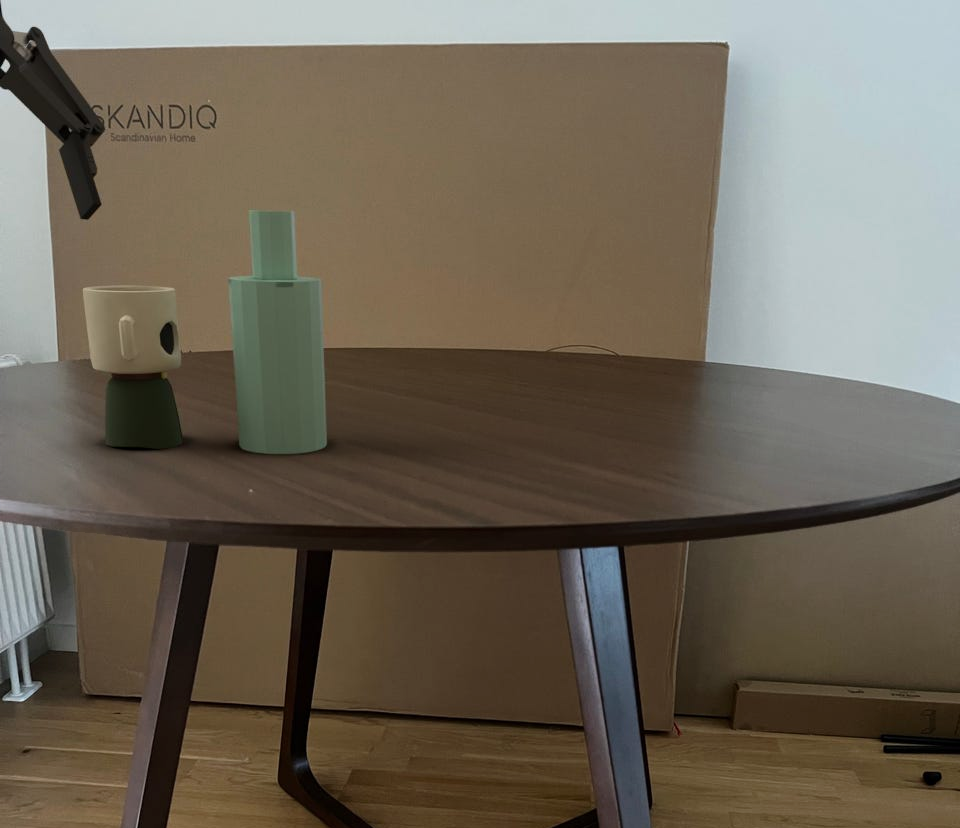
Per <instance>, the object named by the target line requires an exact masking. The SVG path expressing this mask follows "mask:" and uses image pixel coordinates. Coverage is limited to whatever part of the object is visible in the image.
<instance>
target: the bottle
mask: <svg viewBox="0 0 960 828" xmlns="http://www.w3.org/2000/svg"><path fill="white" fill-rule="evenodd" d="M295 217H296V216H295V211H294V210H292V211H291V210H261V209H259V210H258V209H257V210H256V209H255V210H253V209H250V210H248V218H249V219H248V220H249V235H250V236H249V237H250V253H251V268H252V275H237V276H230V277H228V278H227V280H228V294H229V295H228V298H229V310H230V311H229V313H230V326H231V328H230V329H231V340H232V356H233V371H234V386H235V402H236V414H237V415H236V417H237V431H238V443H239V444H238V446H239V447H240V448H241V449H242V450H244V451H247V452H250V453H256V454H261V455H263V454H264V455H298V454H306V453H313V452H317V451H319V450H323V449H325V447H326V446H327V445H328V436H327V434H328V433H327V408H326V407H327V405H326V376H325V349H324V346H325V345H324V344H325V343H324V321H323V317H324V315H323V292H322V291H323V289H322V288H323V287H322V286H323V285H322V279H321V278H318V277H310V276H299V275H298V266H297V242H296V240H297V239H296V238H297V237H296V219H295Z"/></svg>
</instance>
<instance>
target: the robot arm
mask: <svg viewBox="0 0 960 828" xmlns="http://www.w3.org/2000/svg"><path fill="white" fill-rule="evenodd" d="M5 61H7V63H8V64H9V67H8V68H7V70H6V71H5V70H4V69H3V68H2V66H3V65H4V63H5ZM0 88H1V89H3V90H6V91H9V92H10V93H12V94H13V96H14V97H16V98H17V99H18V100H19V101H20V102H21V103H22V105H23V106H24V107H26V108H27V109H28V110H29V111H30V112H31V113H32V114H33V115H34V116H35V118H36V119H38V120H39V121H40V122H41V123H42V124H43V125H44V126H45V128H47V129H48V130H49V131H50V132H51V133H52V134H53V135H54V136H55V137H56V138H57V139H58V140H59V141H60V142H61V143H62V145H61V147H60V148H59V149H58V152H59V155H60V158H61V161H62V164H63V169H64V171H65V174H66V177H67V181H68V184H69V186H70V190H71V194H72V197H73V200H74V203H75V205H76V210H77V213H78V216H79V219H80V220H87V221H89V220H90V218H92V216H93V215H94V214H95V213H96V212H97V211H98V210H99V209H100V207H101V206H102V201H101V197H100V195H99V191H98V188H97V186H96V185H97V184H96V182H95V177H96V175H97V174H98V166H97V164H96V163H97V162H96V161H95V157H94V153H93V150H92V147H93V146H94V145H95V143H96V142H97V141H98V140H99V138H100V137H102V135H103V134H104V133H105V131H106V126H105V124H104V123H103V122H102V120H101V119H100V117H99V116H98V115H97V113H96V112H95V111H94V109H93V108H92V107H91V105H90V103H89V102H88V101H87V99H86V98H85V97H84V96H83V94H82V93H81V91H80V90H79V89H78V87H77V86H76V85H75V83H74V81H72V79H71V77H70V76H69V74H68V73H67V71H65V69H64V67H62V65H61V64H60V62H59V61H58V59H57V58H56V57H55V56H54V55H53V53H52V51H51V48H50V47H49V44H48V42H47V39H46V37H45V35H44V32H43V31H42V30H41V29H40V28H38V27H37V26H31V27H30V28H29V30H28V31H27V32H24V31H15V30H12V28H11V27H10V26H9V25H8V23H7V22H6V20H5V19H4V15H3V10H2V2H1V0H0ZM70 130H71V131H70Z"/></svg>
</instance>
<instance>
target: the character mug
mask: <svg viewBox="0 0 960 828" xmlns="http://www.w3.org/2000/svg"><path fill="white" fill-rule="evenodd" d="M82 297H83V305H84V306H83V307H84V313H85V322H86V323H85V324H86V330H87V332H86V333H87V339H88V340H87V341H88V347H89V354H90V355H89V357H90V362H91V366H92V368H93V369H94V370H96V371H98V372H101V373H106V374H111V375H110V376H111V377H110V379H109V380H108V382H107V385H106V388H105V409H104V431H105V433H104V434H105V436H104V437H105V446H110V447H122V448H123V447H124V448H145V449H154V450H163V449H168V448H169V449H170V448H175V447H177V446H179V445H182V444H183V440H184V438H183V431H182V425H181V421H180V416H179V412H178V407H177V402H176V398H175V394H174V390H173V386H172V384H171V382H170V381H169V379H168V372H170V371H174V370H176V369H179V368H180V367H181V366H182V354H181V352H182V351H181V337H180V327H179V320H178V319H179V318H178V307H177V296H176V289H175V288H173V287H169V286H158V285H157V286H156V285H155V286H154V285H133V284H132V285H131V284H127V285H126V284H125V285H124V284H123V285H120V284H119V285H118V284H117V285H115V284H114V285H98V286H88V287H84V288H82Z"/></svg>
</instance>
